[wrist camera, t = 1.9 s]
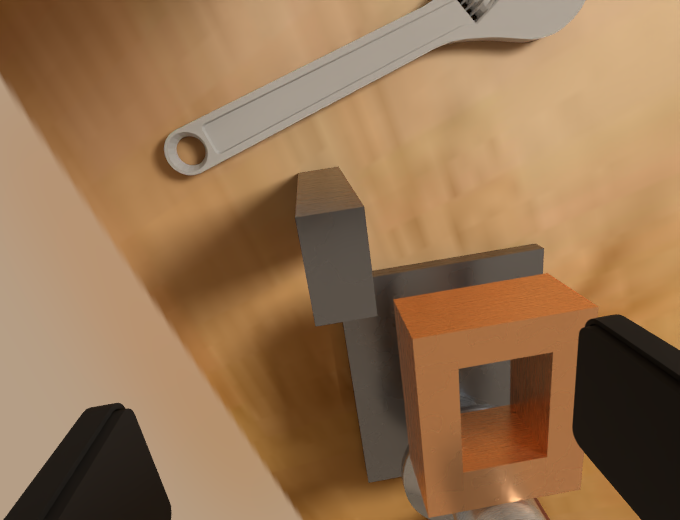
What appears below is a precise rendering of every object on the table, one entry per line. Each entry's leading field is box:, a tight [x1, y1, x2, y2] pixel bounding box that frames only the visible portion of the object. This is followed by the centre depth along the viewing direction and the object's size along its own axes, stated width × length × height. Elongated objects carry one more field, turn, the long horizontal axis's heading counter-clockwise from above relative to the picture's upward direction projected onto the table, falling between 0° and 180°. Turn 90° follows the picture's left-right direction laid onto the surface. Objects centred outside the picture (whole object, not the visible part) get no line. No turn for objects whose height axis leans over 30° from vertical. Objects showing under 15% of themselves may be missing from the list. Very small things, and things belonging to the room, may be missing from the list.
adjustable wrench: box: [164, 0, 585, 175], centre depth 22 cm, size 25×6×2 cm, turn 111°
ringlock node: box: [343, 244, 598, 520], centre depth 23 cm, size 19×14×15 cm
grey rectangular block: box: [295, 167, 377, 326], centre depth 20 cm, size 4×2×11 cm, turn 8°
